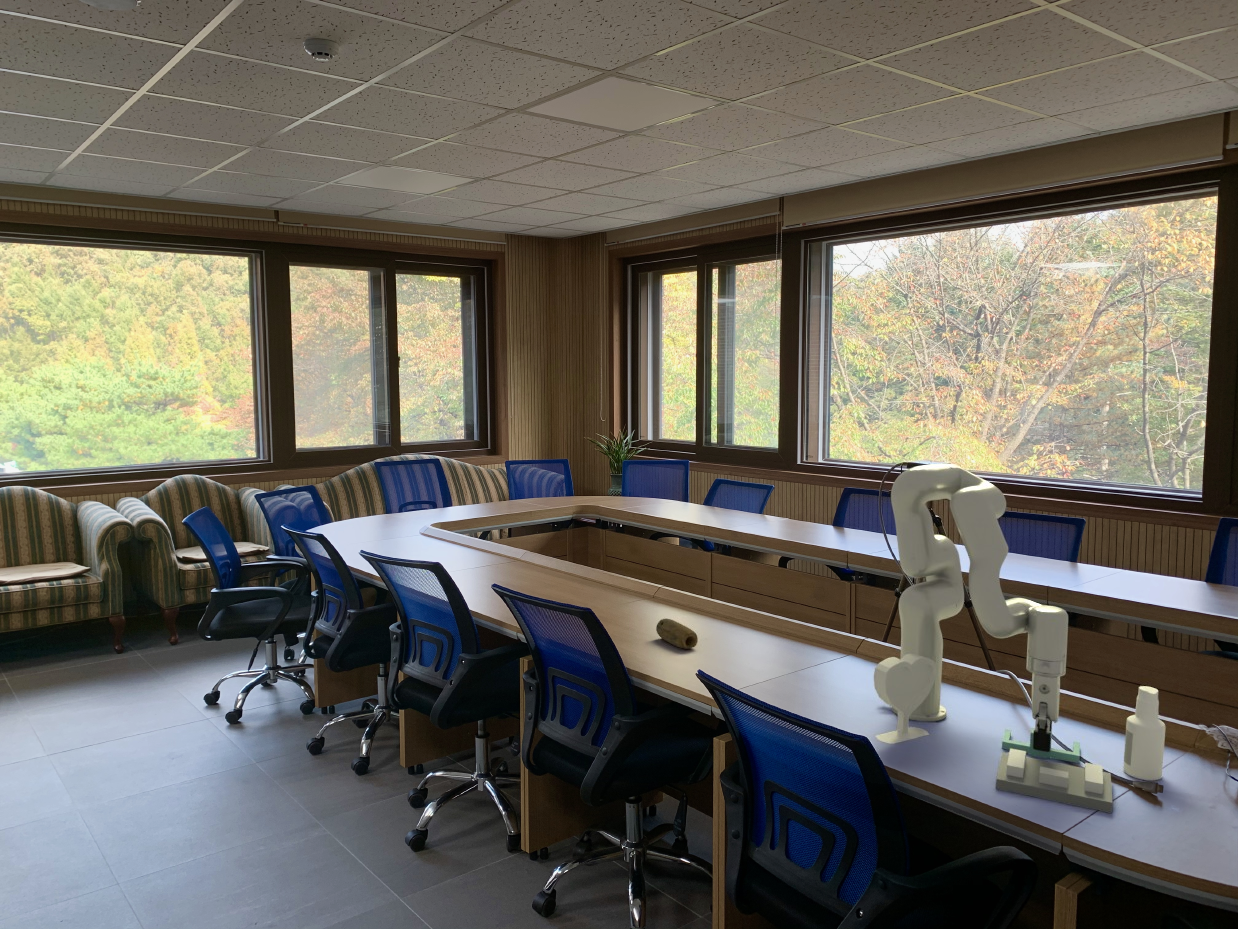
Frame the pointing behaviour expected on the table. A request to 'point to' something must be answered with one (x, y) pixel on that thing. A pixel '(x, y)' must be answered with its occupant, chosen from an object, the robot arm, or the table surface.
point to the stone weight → (676, 634)
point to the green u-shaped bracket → (1052, 753)
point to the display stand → (1055, 781)
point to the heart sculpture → (904, 691)
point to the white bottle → (1145, 738)
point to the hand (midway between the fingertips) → (1042, 742)
